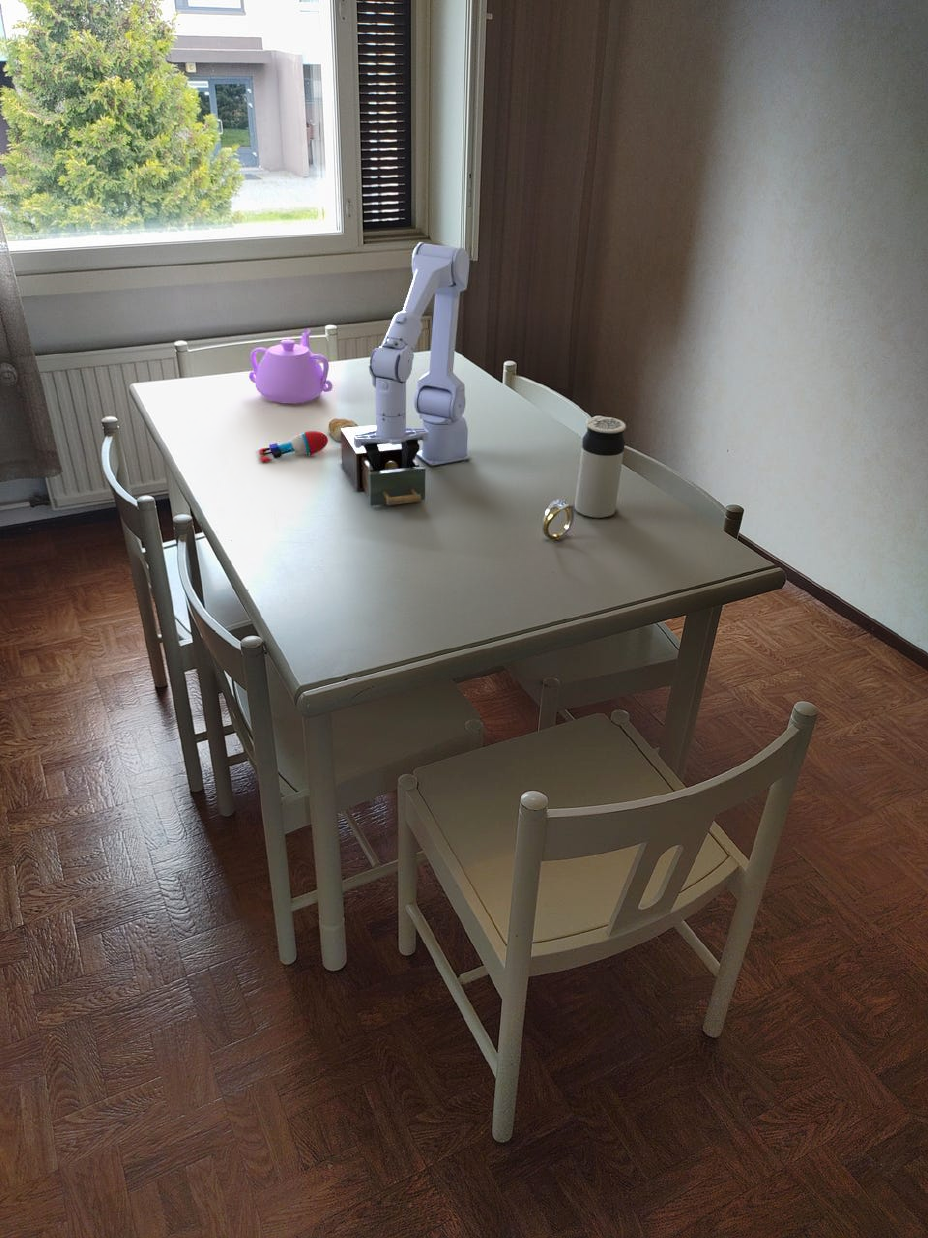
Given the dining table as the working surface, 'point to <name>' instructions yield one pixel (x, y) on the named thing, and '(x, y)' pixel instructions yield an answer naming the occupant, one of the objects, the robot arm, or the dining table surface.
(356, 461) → the cabinet
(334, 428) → the pastry
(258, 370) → the teapot
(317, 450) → the toy figure
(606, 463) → the travel mug
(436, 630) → the dining table surface
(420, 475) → the drawer
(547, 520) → the ring
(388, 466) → the doll
